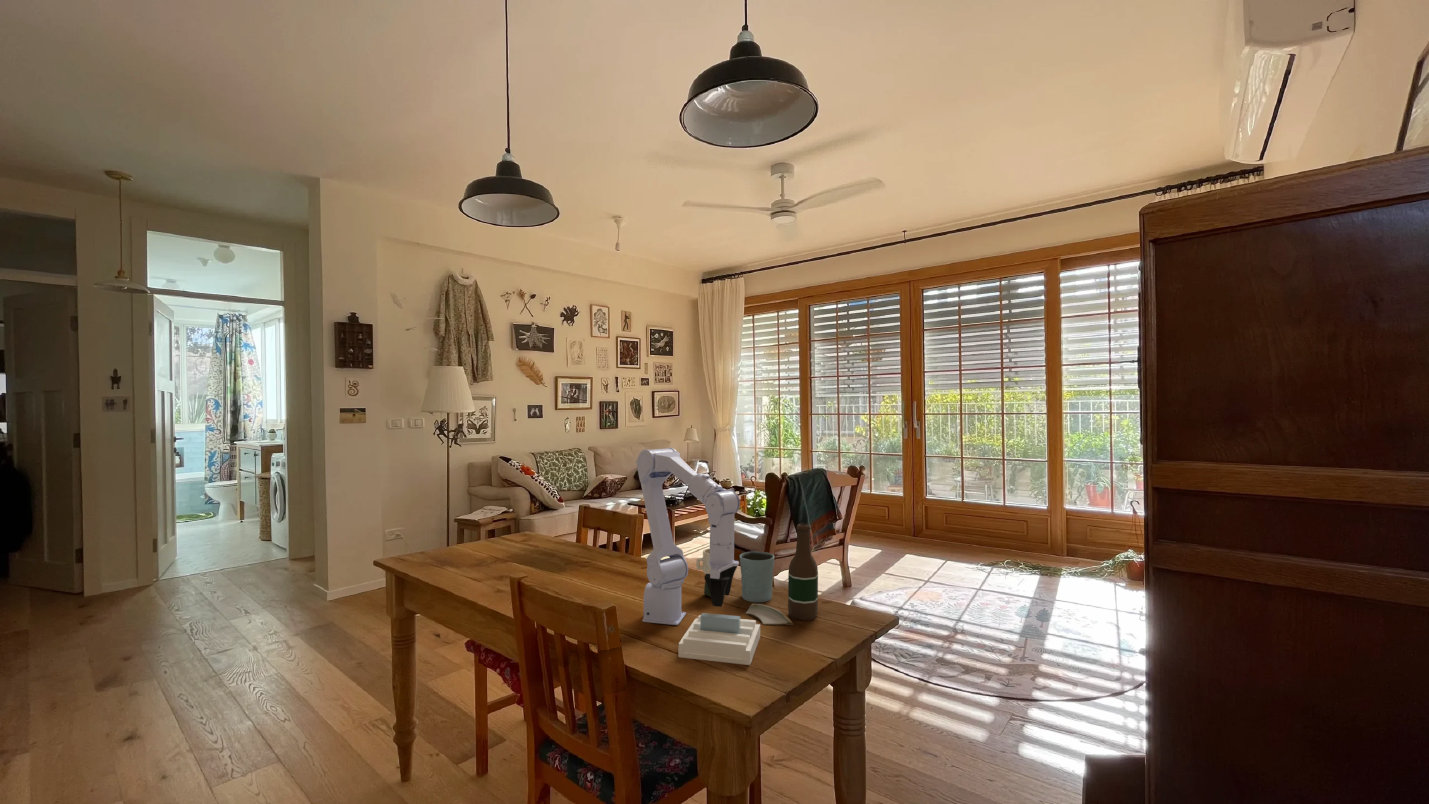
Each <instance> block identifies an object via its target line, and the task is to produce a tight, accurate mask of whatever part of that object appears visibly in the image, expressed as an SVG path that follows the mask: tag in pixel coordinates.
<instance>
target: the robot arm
mask: <svg viewBox="0 0 1429 804" xmlns="http://www.w3.org/2000/svg"><path fill="white" fill-rule="evenodd" d="M635 464H636V469H637V472H638V473H637V474H638V478H639V482H640V485H641V486H640V487H641V491H642V496H643V501H644V506H645V507H644V508H645V512H646V516H647V522H648V526H649V531H650V537H651V542H652V546H653V548H652V550H651V551H650V553H649V554H648V555H647V557H646V563H647V565H646V566H647V567H646V568H647V569H646V577H647V580H648V581H649V582H648V583H646V585H645V587H644V592H643V619H642V622H643V623H649V624H651V623H652V624H659V625H660V624H661V625H662V624H663V625H672V626H679V624H680V623H681V621H682V620H684V618H685V616H686V615H687V612H685V611H682V589H683V587H682V586H683V584H684V583H685V579H686V578H687V577H688V574H689V564H688V562H687V560H686V557H685V555H684V552H683V551H684V550H683V549H681V548H680V547H679V546H677V545H676V544H675V542H674V539H673V534H672V529H671V524H670V523H671V522H670V519H669V514H668V509H667V508H668V507H667V505H666V499H665V495H664V490H663V484H664V482H665V481H666V480H667V479H668V478H669V477H670V476H671V475H672V474H673V475H674V476H675V477H677V479H679V480H681V481H682V482H683V483H685V484H686V485H688V491H689V492H690V493H691V494H692V495H693V497H695V498H696V499H697V500H699V501H700V502H701V503H702V504H703V505H704V509H705V511H706V514H707V521H708V524H709V548H710V560H709V566H710V569H711V570H710V574H705V575H704V581H706V583H707V585H708V588H709V591H710V595H711V597H710V599H711V604H712V606H713V607H719V608H722V607H723V604H724V599H725V596H729V595H730V593H731V590H732V583H733V580H734V579H733V578H734V576H735V573H736V570H737V568H738V566H740V560H735V514H736V513H737V512H738V511H739V509H740V505H741V499H740V497H739V495H738V493H736V491H735V490H734V489H730V488H729V489H726V488H723V486H722V485H721V484H718V483H717V482H715V481H714V480H713V479H712V478H710V477H711V475H709V474H708V473H697V471H695V470H694V469H693V468H692V467H691V466H690V465H689V464H687V463H686V461H684V460H683V459H682V458H681V453H680V452H678V451H677V449H675V448H673V447H666V448H655V449H648V448H646V449H642V450H641V451H640V452H639V453H638V456H637V459H636V460H635ZM666 557H667V558H666Z"/></svg>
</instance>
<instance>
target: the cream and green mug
mask: <svg viewBox="0 0 1429 804" xmlns="http://www.w3.org/2000/svg"><path fill="white" fill-rule="evenodd" d="M709 560H710V547H709V548H705V549H704V550H702V557H697V558H696V570H702V572H703V573H704V574H705V575H706V574H710V570H711V569H710V566H709ZM701 562H702V565H700V564H701ZM704 581H705V580H704ZM703 589H704V590H703V594H704V595H705V596H707V597H710V598H711V595H710V591H709V588H708V585H707V583H706V581H705V582H704V588H703Z"/></svg>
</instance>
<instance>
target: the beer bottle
mask: <svg viewBox="0 0 1429 804" xmlns="http://www.w3.org/2000/svg"><path fill="white" fill-rule="evenodd" d="M795 529H796V530H797V534H796V547H795V553H794V556H793V557H792V559H791V560H790V563H789V565H788V573H787V574H788V576H787V578H788V581H787V583H788V584H787V589H788V590H787V599H788V601H787V603H788V604H787V610H788V611H787V612H788V613H787V614H788V615H789V616H790V617H791V618H792V619H794V620H800V621H812V620H815V618H816V617H817V615H818V610H819V607H818V605H819V603H818V601H819V571H818V570H819V569H818V567H819V566H818V565H817V564H818V563H817V562H816V560H815V558H814V557H813V554H812V548H811V533H810V531H811V529H812V528H811V525H810V524H807V523H799V524H797V525H796V528H795Z"/></svg>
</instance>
